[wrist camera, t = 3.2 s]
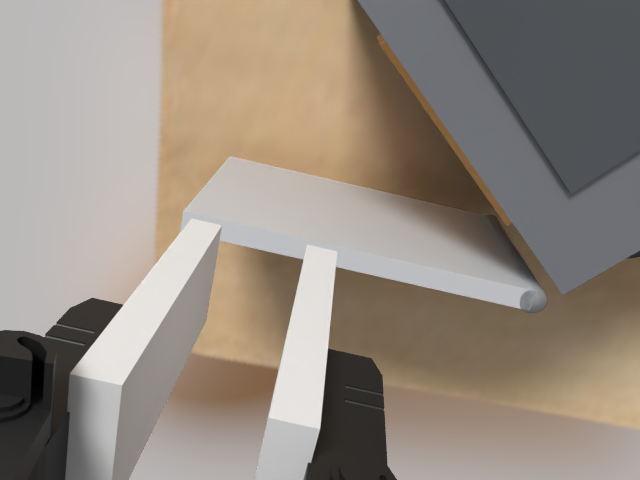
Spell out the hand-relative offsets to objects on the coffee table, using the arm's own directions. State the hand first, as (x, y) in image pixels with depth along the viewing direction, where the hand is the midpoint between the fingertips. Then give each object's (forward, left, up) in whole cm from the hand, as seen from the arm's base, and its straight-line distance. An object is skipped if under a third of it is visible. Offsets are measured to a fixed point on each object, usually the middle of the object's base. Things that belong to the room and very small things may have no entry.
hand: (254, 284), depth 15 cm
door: (-5, 0, -21) cm, 22 cm away
